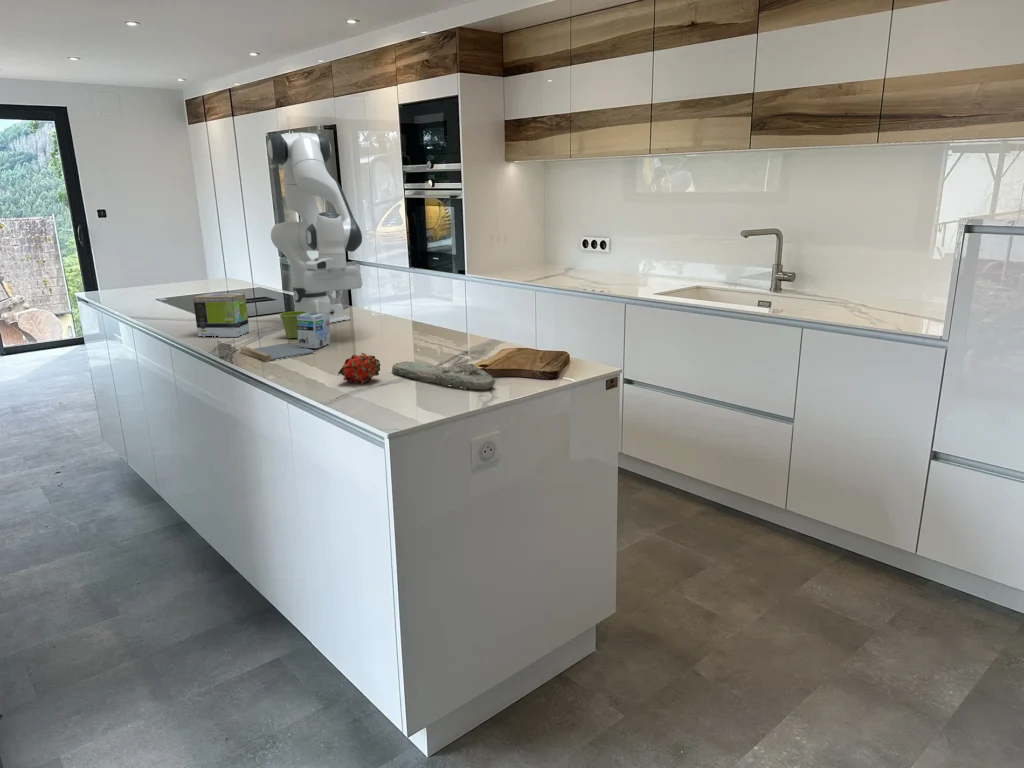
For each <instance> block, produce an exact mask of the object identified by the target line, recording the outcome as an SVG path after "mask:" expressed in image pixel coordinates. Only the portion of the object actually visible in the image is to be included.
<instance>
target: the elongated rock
mask: <svg viewBox="0 0 1024 768" xmlns="http://www.w3.org/2000/svg"><path fill="white" fill-rule="evenodd" d="M391 372H392V374H393V375H399V376H400V377H401V376H402V377H406V378H408V377H409V378H408V379H411V378H412V379H411V380H414V379H415V380H417V379H418V380H417V381H420V380H423V381H426V382H425V383H428V382H433V383H432V384H437V383H439V384H438V385H442V386H445V385H451V386H456V387H455V388H458V387H462V388H469V389H470V390H474V389H475V390H488V389H491V388H493V387H494V386H495V383H496V381H495V379H494V378H493V375H491V374H489V373H488V372H487V371H485V370H483V369H480V368H478V367H476V365H474V364H473V363H467V364H466V363H465V364H458V365H457V366H448V367H442V366H438V365H430V364H424V363H421V362H419V363H418V362H414V361H401V362H396V363H395V364H393V365H392V367H391ZM423 381H422V382H423Z"/></svg>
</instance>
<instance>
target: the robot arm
mask: <svg viewBox="0 0 1024 768" xmlns="http://www.w3.org/2000/svg"><path fill="white" fill-rule="evenodd" d="M267 152H268V155H269V157H270V160H271V161H272V162H273V163H274V164H276V165H282V167H283V169H282V172H283V173H282V174H283V175H282V176H283V179H282V180H283V189H284V198H285V204H286V206H287V208H288V209H290V210H291V211H293V212H295V213H297V214H298V215H299V216H300V218H301V221H285V222H284V221H283V222H278V223H275V224H274V225H273V227H272V228H271V232H270V240H271V242H272V244H273V245H274V247H275V248H277V250H279V251H280V252H282V254H284V255H285V257H286V259H287V260H288V262H289V265H290V268H291V274H292V279H293V281H292V282H293V287H292V292H293V294H292V295H293V301H294V311H303V312H307V313H308V312H324V313H330V323H331V322H336V321H341V320H346V319H350V320H351V316H349V315H347V314H345V310H344V306H343V305H342V303H341V299H342V296H343V292H344V290H357V289H361V288H362V286H363V279H362V273H361V265H360V264H359V262H357V261H354V260H353V261H347V256H346V254H347V253H346V252H349V253H350V252H351V253H352V252H355V251H356V250H358V248H360V246H361V245H362V243H363V242H362V241H363V237H362V236H363V235H362V231H361V228H360V226H359V225H358V223H357V221H356V219H355V217H354V215H353V212H352V210H351V208H350V205H349V203H348V200H347V197H346V195H345V193H344V191H343V189H342V186H341V185H340V183H339V181H337V180H336V179H334V178H333V177H332V176H331V175H330V174H329V171H328V170H327V168H326V165H325V164H326V163H327V162H329V160H330V159H331V154H332V146H331V143H330V139H329V138H328V137H327V135H325V134H322V133H319V132H318V133H317V132H316V133H312V132H297V133H296V132H293V133H292V132H291V133H290V132H289V133H282V134H281V133H276V134H272V135H271V136H270V137H269V139H268V142H267ZM317 197H318V198H321V199H324V200H326V201H327V202H330V203H331V205H332V206H333V208H334V209H335V212H332V211H325V212H324V211H323V212H322V211H320V208H319V205H318V202H317ZM307 251H309V252H310V251H311V252H312V251H313V252H317V253H318V256H317V257H316V258H313V259H312V258H311V257H310V256H309V255H308V252H307ZM334 292H335V294H336V296H335V297H334V296H333V294H334ZM346 321H347V320H346ZM341 322H342V321H341ZM336 323H337V322H336ZM331 324H332V323H331Z"/></svg>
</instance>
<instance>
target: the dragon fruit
mask: <svg viewBox="0 0 1024 768" xmlns="http://www.w3.org/2000/svg"><path fill="white" fill-rule="evenodd" d="M381 366H382V364H381V363H380V360H379V359H378V358H376V356H375V355H371V354H368V355H367V354H365V353H364V352H361V353H360V354H359V355H356V354H352V355H351V357H350V358H346V359H345V361H344V364H343V365H342V367H341V368H340V370H339V371H338V373H337V374H338V375H340V374H341V376H344V377H343V381H346V383H352V382H356V383H358V382H360V384H361V385H362V384H364V383H366V382H371V381H372V378H373V377H375V376H376V377H377V376H379V375H380V373H379V372H380V371H381Z"/></svg>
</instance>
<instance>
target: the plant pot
mask: <svg viewBox="0 0 1024 768" xmlns="http://www.w3.org/2000/svg"><path fill="white" fill-rule="evenodd" d="M304 313H307V312H303V311H295V310H293V311H283V312H280V313H278V314H279V316H280V319H281V322H282V325H283V328H284V332H285V333H284V334H285V337H286V339H288V338H296V339H298V326H297V315H300V314H304Z"/></svg>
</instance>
